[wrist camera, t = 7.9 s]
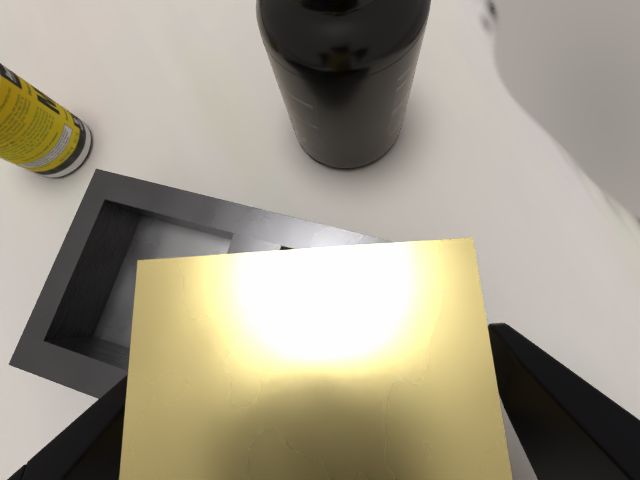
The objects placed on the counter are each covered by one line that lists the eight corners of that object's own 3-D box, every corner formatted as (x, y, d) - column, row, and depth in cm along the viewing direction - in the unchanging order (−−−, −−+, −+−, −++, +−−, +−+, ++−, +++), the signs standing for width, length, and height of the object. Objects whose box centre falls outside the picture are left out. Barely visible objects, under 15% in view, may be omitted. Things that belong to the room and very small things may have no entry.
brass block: (396, 398, 16) (549, 701, 4) (289, 401, 16) (102, 677, 4) (386, 289, 17) (472, 237, 5) (286, 294, 17) (137, 259, 5)
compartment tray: (409, 475, 15) (426, 522, 12) (72, 354, 18) (8, 364, 15) (450, 271, 17) (474, 261, 14) (138, 192, 20) (96, 168, 17)
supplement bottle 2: (359, 59, 21) (368, -255, 9) (423, 132, 19) (532, -139, 8) (274, 114, 21) (174, -138, 9) (332, 193, 19) (301, 8, 7)
